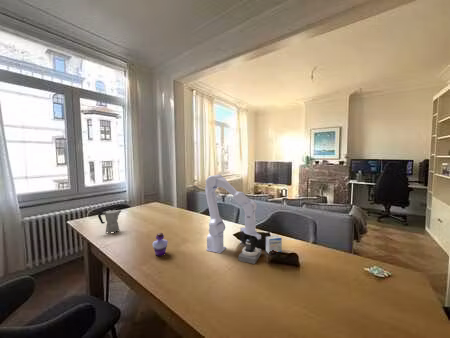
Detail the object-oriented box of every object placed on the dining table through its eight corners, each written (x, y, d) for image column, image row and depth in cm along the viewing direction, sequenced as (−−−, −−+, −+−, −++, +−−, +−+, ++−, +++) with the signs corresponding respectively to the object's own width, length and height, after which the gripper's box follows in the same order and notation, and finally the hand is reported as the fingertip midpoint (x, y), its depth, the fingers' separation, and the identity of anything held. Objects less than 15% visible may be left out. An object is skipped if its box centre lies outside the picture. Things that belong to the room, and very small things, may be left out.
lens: (250, 255, 111) (250, 241, 110) (244, 252, 114) (244, 239, 113) (255, 252, 114) (255, 239, 114) (248, 249, 117) (248, 237, 117)
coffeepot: (120, 227, 163) (119, 205, 161) (123, 231, 155) (122, 207, 154) (97, 232, 153) (96, 208, 152) (100, 236, 146) (98, 211, 144)
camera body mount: (238, 260, 110) (238, 253, 110) (246, 250, 122) (246, 243, 122) (255, 264, 107) (255, 256, 106) (261, 253, 118) (261, 246, 118)
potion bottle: (171, 251, 121) (170, 231, 121) (163, 258, 113) (162, 237, 112) (158, 250, 124) (157, 230, 123) (149, 256, 115) (148, 235, 115)
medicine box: (269, 254, 117) (269, 239, 116) (265, 251, 121) (265, 236, 121) (281, 252, 119) (281, 237, 118) (277, 249, 123) (277, 234, 123)
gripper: (265, 225, 110) (265, 250, 110) (246, 218, 121) (247, 241, 122) (255, 228, 105) (255, 254, 106) (237, 221, 117) (237, 244, 118)
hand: (250, 247), depth 114 cm, fingers closed on lens, 4 cm apart
